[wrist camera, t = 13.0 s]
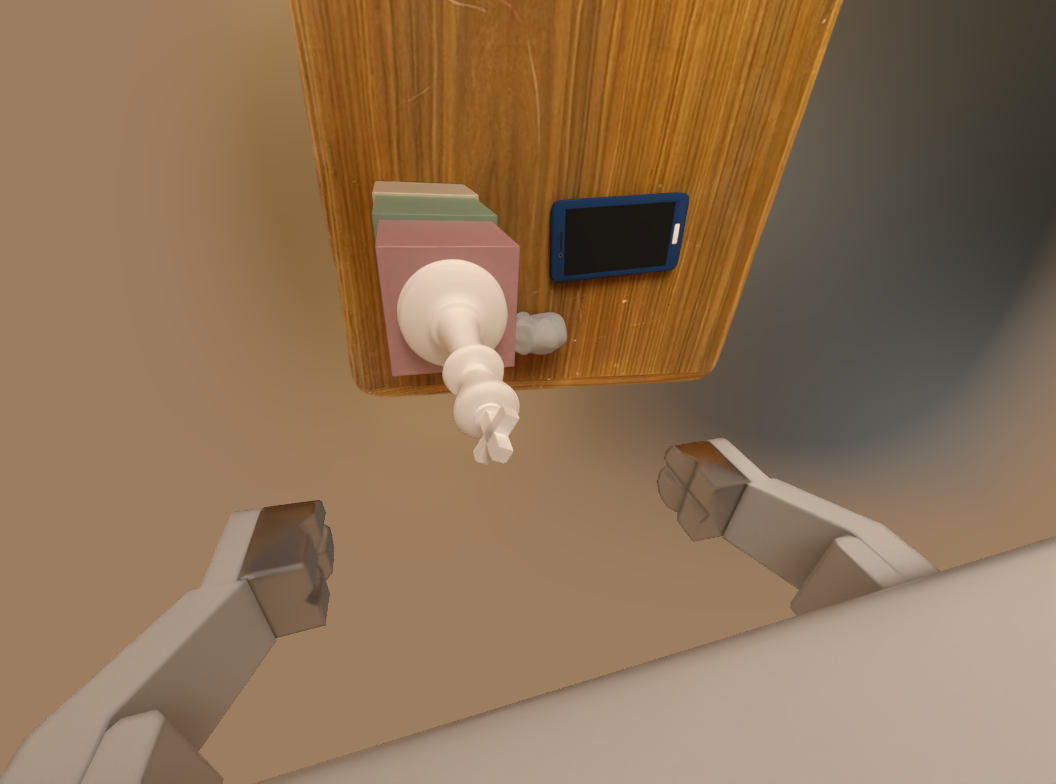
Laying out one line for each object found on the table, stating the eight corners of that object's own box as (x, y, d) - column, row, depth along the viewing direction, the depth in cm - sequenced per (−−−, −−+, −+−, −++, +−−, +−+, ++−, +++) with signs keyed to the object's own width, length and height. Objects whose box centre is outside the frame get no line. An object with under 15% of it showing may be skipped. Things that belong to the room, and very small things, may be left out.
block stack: (374, 180, 32) (359, 233, 16) (464, 184, 34) (531, 233, 18) (385, 270, 36) (382, 386, 20) (465, 269, 38) (523, 374, 21)
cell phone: (673, 267, 43) (677, 269, 43) (549, 281, 40) (551, 283, 40) (687, 191, 39) (691, 192, 39) (550, 200, 36) (552, 201, 36)
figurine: (552, 342, 44) (568, 363, 40) (479, 337, 42) (489, 359, 38) (560, 308, 42) (577, 327, 38) (484, 301, 40) (495, 320, 36)
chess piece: (525, 290, 19) (625, 410, 11) (475, 375, 21) (530, 534, 12) (425, 237, 17) (460, 338, 8) (378, 338, 18) (369, 504, 10)
